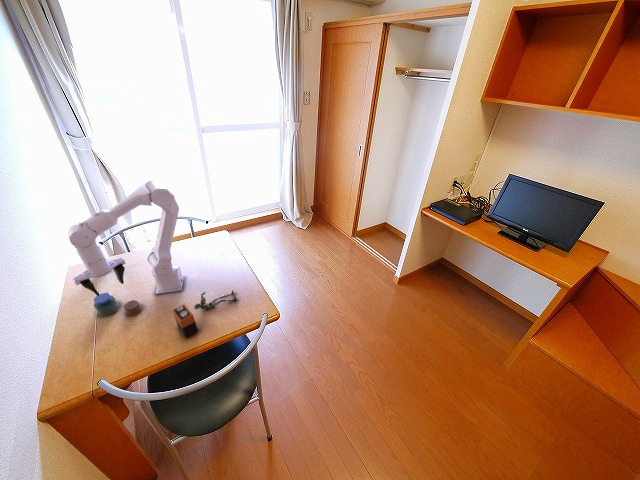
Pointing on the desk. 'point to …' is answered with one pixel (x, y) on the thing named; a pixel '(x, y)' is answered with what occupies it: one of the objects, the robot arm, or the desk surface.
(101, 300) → the ink bottle
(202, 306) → the zombie figurine
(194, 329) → the battery
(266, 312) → the desk surface
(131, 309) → the brown short cylinder
